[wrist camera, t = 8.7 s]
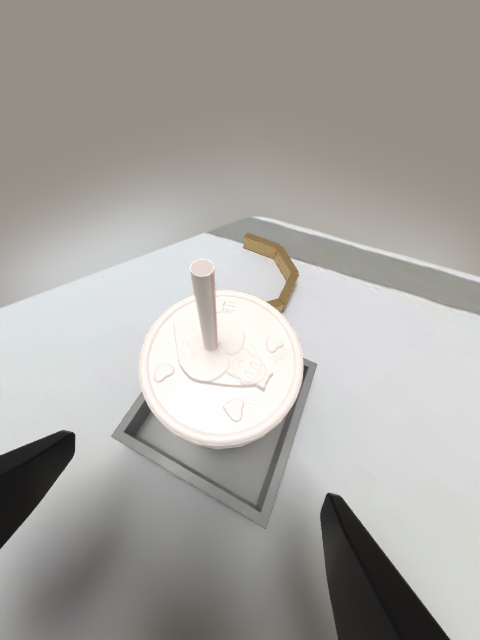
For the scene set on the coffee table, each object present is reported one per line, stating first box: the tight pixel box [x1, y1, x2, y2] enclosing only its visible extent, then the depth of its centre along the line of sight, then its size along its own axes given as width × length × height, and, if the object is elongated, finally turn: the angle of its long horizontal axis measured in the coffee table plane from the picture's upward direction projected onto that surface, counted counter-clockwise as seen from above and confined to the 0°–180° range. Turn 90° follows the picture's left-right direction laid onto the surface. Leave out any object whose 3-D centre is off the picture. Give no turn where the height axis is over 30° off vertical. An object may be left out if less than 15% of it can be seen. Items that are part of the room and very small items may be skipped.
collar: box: [244, 233, 299, 313], centre depth 23 cm, size 10×7×2 cm
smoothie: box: [139, 259, 303, 449], centre depth 11 cm, size 6×6×14 cm
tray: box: [111, 358, 317, 529], centre depth 17 cm, size 10×10×3 cm
